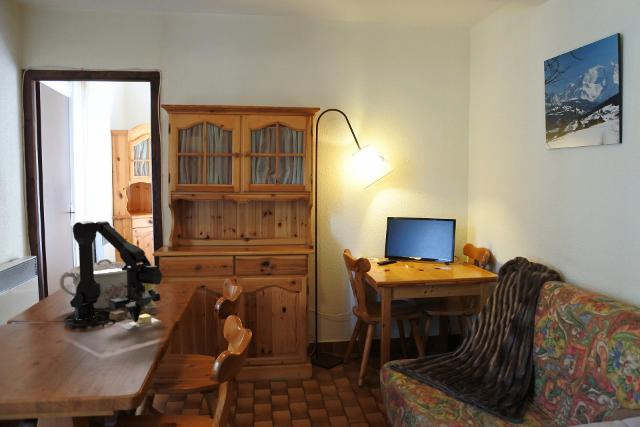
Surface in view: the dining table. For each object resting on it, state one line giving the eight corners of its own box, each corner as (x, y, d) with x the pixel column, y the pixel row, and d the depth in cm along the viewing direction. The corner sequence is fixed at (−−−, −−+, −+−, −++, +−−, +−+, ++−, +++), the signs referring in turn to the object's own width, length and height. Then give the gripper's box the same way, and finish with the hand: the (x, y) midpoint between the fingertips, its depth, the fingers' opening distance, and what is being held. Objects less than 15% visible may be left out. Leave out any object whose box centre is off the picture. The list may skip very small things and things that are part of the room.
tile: (141, 324, 190) (141, 318, 190) (136, 322, 193) (136, 315, 193) (151, 322, 193) (151, 315, 193) (146, 319, 196) (145, 313, 196)
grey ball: (129, 321, 197) (129, 312, 197) (125, 319, 200) (125, 311, 199) (138, 319, 200) (137, 311, 200) (133, 317, 202) (133, 309, 202)
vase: (149, 310, 213) (148, 277, 212) (136, 309, 214) (135, 277, 213) (156, 306, 219) (156, 274, 218) (144, 305, 220) (143, 274, 219)
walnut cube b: (145, 317, 203) (145, 308, 203) (144, 315, 207) (143, 305, 206) (155, 316, 205) (155, 307, 205) (154, 314, 208) (153, 304, 208)
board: (127, 332, 184) (127, 329, 184) (118, 328, 189) (118, 325, 189) (161, 324, 195) (161, 320, 195) (151, 320, 199) (151, 317, 199)
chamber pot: (148, 298, 233) (147, 254, 231) (119, 315, 206) (118, 265, 204) (92, 296, 236) (90, 253, 234) (55, 312, 209) (54, 263, 207)
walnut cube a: (116, 323, 195) (116, 313, 194) (109, 322, 196) (109, 312, 196) (124, 321, 198) (124, 311, 198) (117, 319, 200) (117, 310, 200)
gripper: (122, 289, 177) (123, 332, 178) (168, 281, 191) (168, 321, 192) (107, 284, 184) (108, 326, 185) (152, 277, 198) (153, 315, 199)
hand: (135, 322), depth 190 cm, fingers closed
